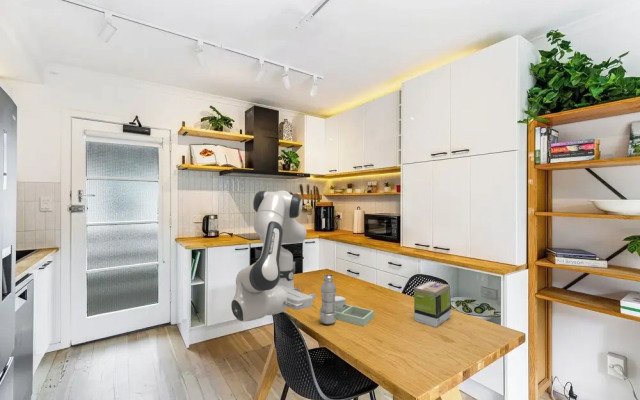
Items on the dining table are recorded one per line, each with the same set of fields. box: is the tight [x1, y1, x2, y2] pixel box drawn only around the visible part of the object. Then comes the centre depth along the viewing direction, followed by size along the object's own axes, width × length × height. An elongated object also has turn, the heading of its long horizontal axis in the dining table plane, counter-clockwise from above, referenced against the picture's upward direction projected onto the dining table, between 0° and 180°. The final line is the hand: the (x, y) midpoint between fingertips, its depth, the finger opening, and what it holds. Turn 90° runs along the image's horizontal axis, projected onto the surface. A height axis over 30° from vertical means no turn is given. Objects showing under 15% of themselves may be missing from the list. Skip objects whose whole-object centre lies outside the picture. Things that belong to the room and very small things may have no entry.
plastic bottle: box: [319, 274, 337, 325], centre depth 125 cm, size 6×7×20 cm
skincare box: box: [335, 295, 347, 313], centre depth 135 cm, size 6×6×7 cm
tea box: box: [413, 281, 451, 328], centre depth 130 cm, size 15×10×15 cm, turn 134°
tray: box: [319, 304, 375, 327], centre depth 132 cm, size 21×11×3 cm, turn 57°
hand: (306, 292), depth 116 cm, fingers open, 8 cm apart
